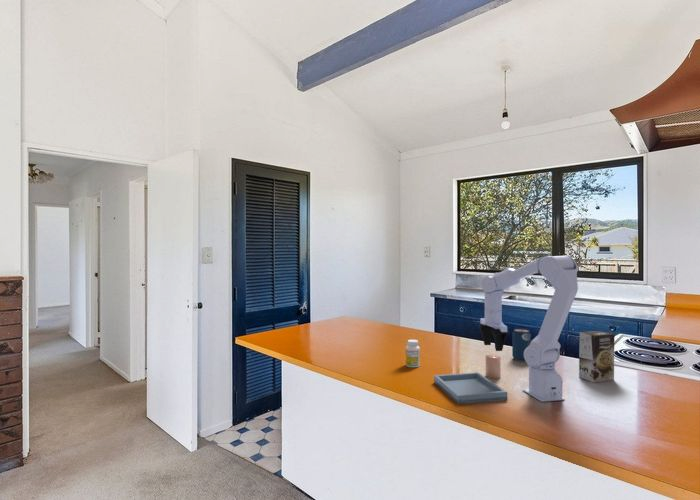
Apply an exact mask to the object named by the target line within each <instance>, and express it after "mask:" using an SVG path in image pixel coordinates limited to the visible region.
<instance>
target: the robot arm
mask: <svg viewBox="0 0 700 500" xmlns="http://www.w3.org/2000/svg"><path fill="white" fill-rule="evenodd" d="M579 268H580V266H579V265H578V263H577V262H576V260H575V259H574V258H573V257H572V256H570V255H566V254H565V255H554V256H553V255H552V256H551V255H545V256H543V257H538V258H536V259H535V260H532V261H530V262H528V263H526V264H525V265H522V266H521V267H517V268H513V267H504V268H503V270H502V271H500V272H495V273H493V275H492V276H491V275H485V277H483V278H482V279H481V282H480V287H481V289H482V290H483V292H484V317H483V318H482V317H480V324H481V325H478V326H477V327H478V329H479V331H480V334H481V336H482V340H483V344H484V346H491V344H492V337H493V341H494V349H495V351H496V352H502V351H503V349H504V344H505V342H506V340H507V337H508V336H509V334H510V331H508V326H507V325H505V324H504V322H503V319H502V318H503V316H502V313H503V309H502V308H503V306H502V305H503V303H502V302H503V299H502V298H503V296H504V291H505V289H508V288H510V287H513V286H515V285H517V284H519V283H520V281H521V279H523V278H525V277H529V276H531V275H534V274H541V275H542V276H543V278H544V279H546V281H547V282H548V283H550V285H551V286H552V287H553V288H554V292H553V294H552V297H551V300H550V303H549V305H548V308H547V310H546V314H545V316H544V319H543V321H542V323H541V327H540V329H539V332H538V334H537V335H536V336H535V337H534V338H533V339H531V343H530V345H529V346H528V347H527V348H526V349H525V350H524V359H525V361H526V362H525V363H527V367H528V387H525V388H522V391H523V392H525V393H526V394H528V395H530V396H532V397H533V398H535V399H536V400H538V401H539V402H542V403H544V402H553V401H565V397H564V396H563V378H562V376H561V375H560V374H559V373H558V372H557V370H556V368H555V366H556V363H557V362H558V361H559V360H560V355H561V353H560V349H561V344H560V342H559V341H558V340H559V338H560V335H561V333H562V331H563V328H564V326H565V323H566V321H567V318H568V316H569V313H570V311H571V308H572V306H573V303H574V301H575V298H576V296H577V293H578V289H579V285H578V275H577V273H578V271H579ZM494 329H495V330H494Z"/></svg>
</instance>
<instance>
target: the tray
mask: <svg viewBox="0 0 700 500" xmlns="http://www.w3.org/2000/svg"><path fill="white" fill-rule="evenodd" d="M433 382H434V384H435V385H436V386H438V388H439V389H440V390H442V391H443V392H444V394H446V395H447V396H448V397H449V398H451V400H452V401H454V402H455V403H456V404H457V405H462V404H463V405H464V404H475V403H488V402H498V401H499V402H500V401H508V391H507V390H505V389H504V388H503V387H500V386H499V385H498V384H497V383H494V382H493V381H492V380H490V378H488V377H486V376H484V375H483V374H481V373H480V372H478V371H477V372H464V373H448V374H437V375H436V374H434V376H433Z"/></svg>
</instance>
